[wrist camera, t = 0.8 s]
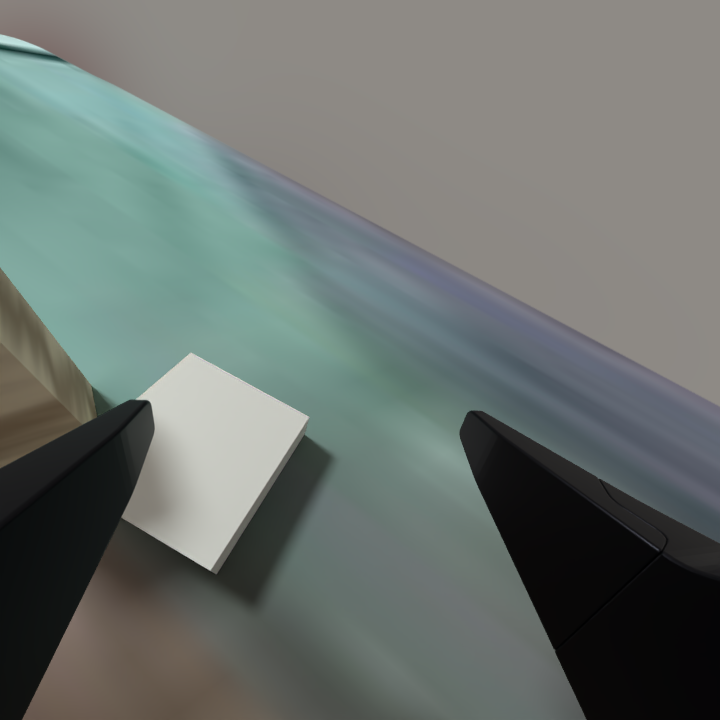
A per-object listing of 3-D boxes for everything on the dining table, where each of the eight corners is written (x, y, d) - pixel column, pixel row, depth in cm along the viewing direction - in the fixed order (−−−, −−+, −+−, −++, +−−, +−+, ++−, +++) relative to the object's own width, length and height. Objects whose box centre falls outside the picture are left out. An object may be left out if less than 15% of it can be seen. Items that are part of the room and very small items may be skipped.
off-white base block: (216, 574, 18) (210, 570, 16) (74, 489, 18) (48, 474, 16) (304, 434, 24) (309, 416, 22) (197, 375, 25) (190, 352, 23)
